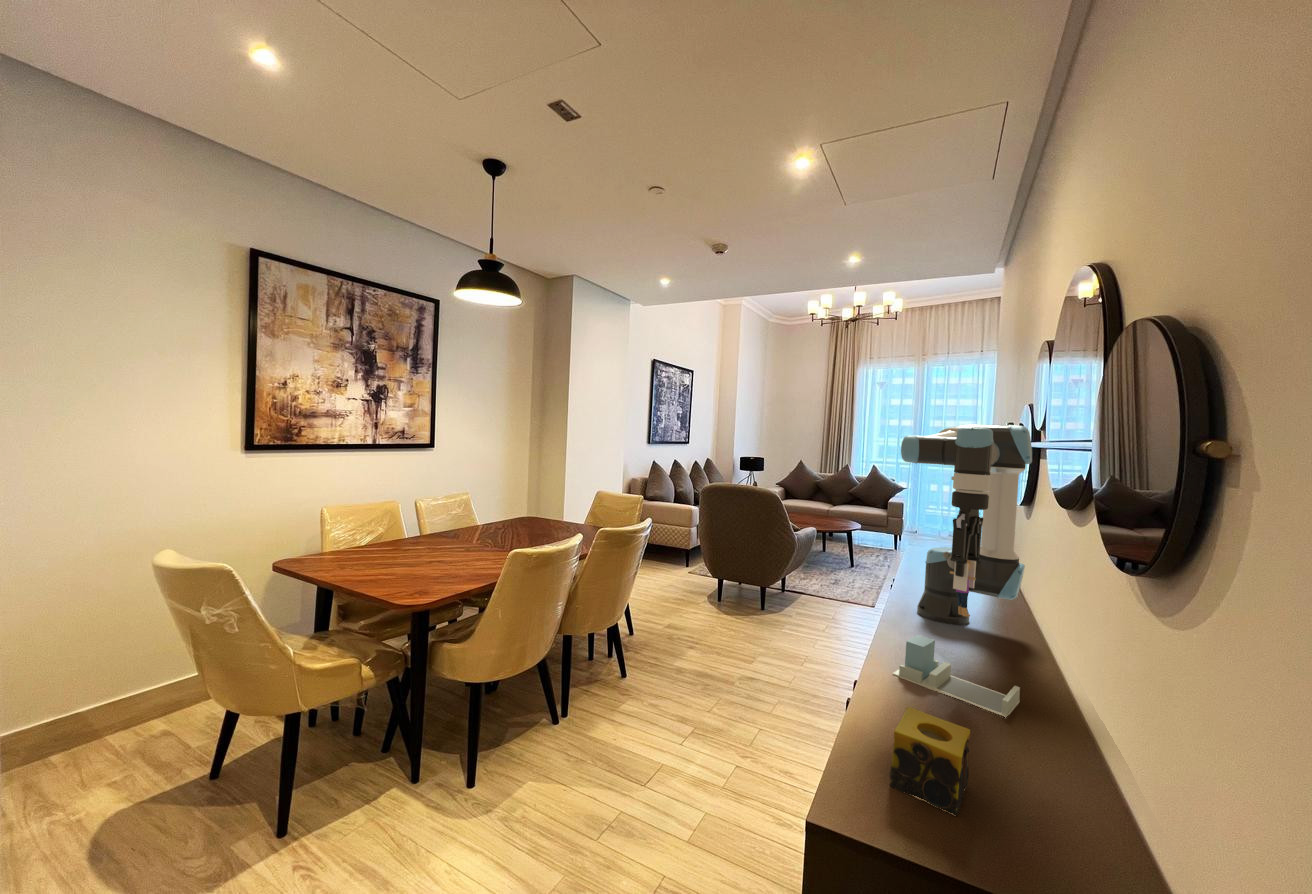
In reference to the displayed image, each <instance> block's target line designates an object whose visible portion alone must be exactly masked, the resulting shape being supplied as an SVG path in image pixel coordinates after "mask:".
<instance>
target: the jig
mask: <svg viewBox="0 0 1312 894" xmlns="http://www.w3.org/2000/svg"><path fill="white" fill-rule="evenodd" d="M951 672H952V664H951V663H949V662H947V661H944V662H942V663H941V664H940V665H939V660H937V659H934V664H933V671H931V672H930V673H929V675H928V676H927V677H925V678H924V679H923V672H921V671H918V670H916V669H913V668H910V667H907V666H905V664H900V665H899V669H897V670H895V671H893V672H892V675H893V676H896V677H898V678H900V679H903V680H906V681H908V682H911V683H913V684H916V685H918V686H921V687H923V688H925V689H929V690H932V691H934V692H936V691H937V692H936V693H939V694H941V693H942V695H944V694H945V695H944V696H946V695H948V696H947V697H949V696H951V697H950V698H952V697H954V698H957V699H960V700H963V701H966V702H969V703H971V704H973V705H975V706H978V707H980V708H983V709H986V710H988V711H991V712H994V713H996V714H999V715H1002V716H1004V717H1005V718H1004V719H1007V718H1008V717H1009V716H1010V715H1011V713H1012V712H1013V711H1014V709H1016V707H1017V706H1018V705H1019V703H1020V700H1021V699H1020V691H1021V686H1020V687H1019V686H1018V685H1014V686H1013V687H1012V688H1011V689H1010V690H1009V692H1007V694H1004V693H1001V692H999V691H997V690H992V689H991V688H988V687H985V686H981V685H979V684H976V683H973V682H971V681H968V680H965V679H962V678H960V677H957V676H954V675H951V674H952V673H951ZM954 698H953V699H954ZM957 699H956V700H957ZM975 706H974V707H975ZM980 708H979V709H980ZM983 709H982V710H983ZM988 711H987V712H988ZM1008 715H1009V716H1008ZM1007 716H1008V717H1007ZM1006 717H1007V718H1006Z"/></svg>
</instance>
